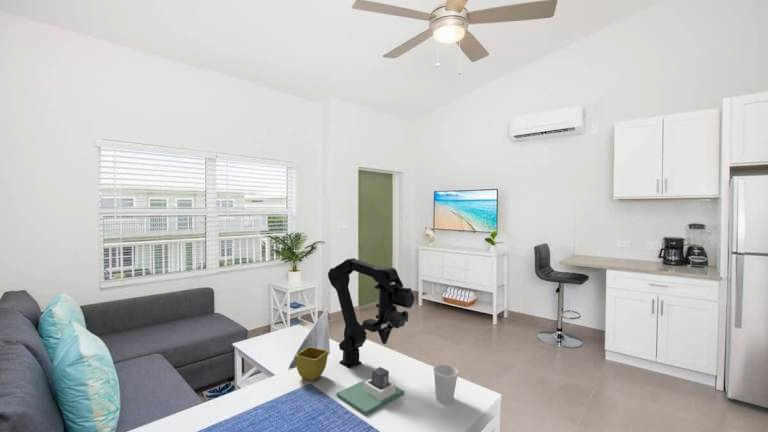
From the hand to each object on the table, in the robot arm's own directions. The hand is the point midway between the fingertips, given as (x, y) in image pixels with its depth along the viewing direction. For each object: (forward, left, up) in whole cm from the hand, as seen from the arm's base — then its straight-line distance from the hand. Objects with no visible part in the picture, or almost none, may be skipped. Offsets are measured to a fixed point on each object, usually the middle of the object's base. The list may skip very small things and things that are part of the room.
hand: (384, 343), depth 128 cm
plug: (+8, -10, -11) cm, 17 cm away
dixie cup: (+24, +5, -13) cm, 28 cm away
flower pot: (-17, -20, -13) cm, 29 cm away
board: (+6, -12, -12) cm, 18 cm away
